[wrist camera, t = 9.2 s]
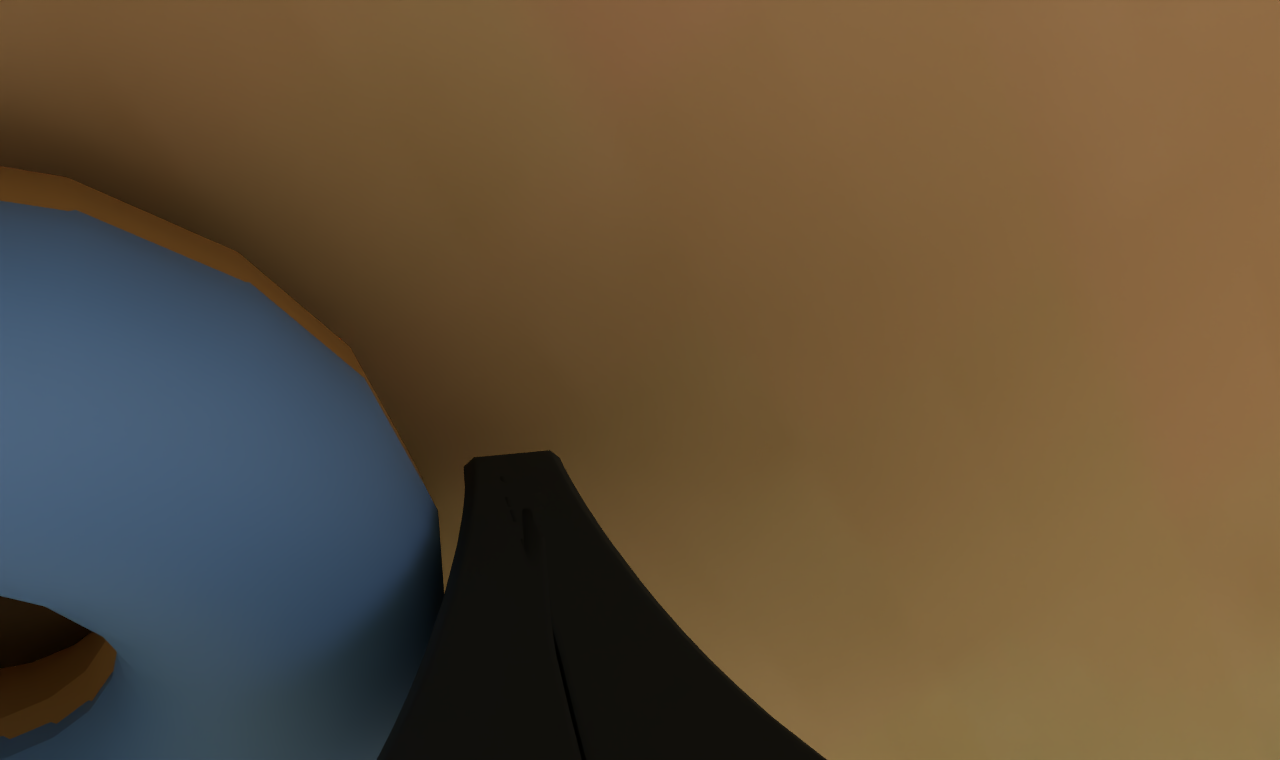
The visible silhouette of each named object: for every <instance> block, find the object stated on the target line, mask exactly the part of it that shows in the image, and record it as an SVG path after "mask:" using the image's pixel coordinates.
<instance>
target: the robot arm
mask: <svg viewBox="0 0 1280 760" xmlns="http://www.w3.org/2000/svg"><path fill="white" fill-rule="evenodd" d="M464 480H465V498H464V508H463V515H462V521H461V527H460V532H459V538H458V543H457V548H456V551H455V555H454V559H453V563H452V567H451V571H450V575H449V579H448V583H447V587H446V590H445V594H444V597H443V601H442V604H441V607H440V610H439V613H438V615H437V618H436V621H435V624H434V627H433V630H432V633H431V636H430V639H429V642H428V644H427V647H426V650H425V653H424V656H423V658H422V661H421V664H420V666H419V669H418V671H417V674H416V676H415V679H414V681H413V683H412V686H411V688H410V691H409V693H408V695H407V697H406V700H405V702H404V704H403V706H402V709H401V711H400V713H399V715H398V717H397V720H396V722H395V724H394V726H393V728H392V730H391V732H390V734H389V736H388V738H387V740H386V742H385V744H384V746H383V748H382V750H381V752H380V754H379V756H378V758H377V760H826V759H825V758H824V757H822V756H821V755H820V754H819V753H817V752H816V751H815V750H814V749H812V748H811V747H810V746H808V745H807V744H806V743H805V742H803V741H802V740H801V739H800V738H798V737H797V736H796V735H794V734H793V733H792V732H791V731H789V730H788V729H787V728H785V727H784V726H783V725H782V724H780V723H779V722H778V721H777V720H775V719H774V718H773V717H772V716H771V715H769V714H768V713H767V712H766V711H765V710H764V709H763V708H762V707H760V706H759V705H758V704H757V703H756V702H755V701H754V700H753V699H751V698H750V697H749V696H748V695H747V694H746V693H745V692H744V691H743V690H741V689H740V688H739V687H738V686H737V685H736V684H735V683H734V682H733V681H732V680H731V679H730V678H729V677H728V676H727V675H726V674H725V673H724V672H722V671H721V670H720V669H719V668H718V667H717V666H716V665H715V664H714V663H713V662H712V661H711V660H710V659H709V658H708V657H707V656H706V655H705V654H704V653H703V652H702V651H701V650H700V649H699V648H698V646H697V645H696V644H695V643H694V642H693V641H692V640H691V639H690V638H689V637H688V636H687V635H686V634H685V633H684V631H683V630H682V629H681V628H680V627H679V626H678V625H677V624H676V622H675V621H674V620H673V619H672V618H671V617H670V616H669V614H668V613H667V612H666V611H665V610H664V609H663V608H662V606H661V605H660V604H659V603H658V602H657V601H656V599H655V598H654V597H653V596H652V594H651V593H650V592H649V591H648V590H647V588H646V587H645V586H644V585H643V583H642V582H641V581H640V580H639V578H638V577H637V576H636V574H635V573H634V572H633V570H632V569H631V568H630V567H629V565H628V564H627V563H626V561H625V560H624V559H623V557H622V556H621V555H620V553H619V552H618V551H617V549H616V548H615V547H614V545H613V544H612V543H611V541H610V540H609V538H608V537H607V536H606V534H605V533H604V531H603V530H602V528H601V527H600V525H599V524H598V522H597V521H596V519H595V518H594V516H593V515H592V513H591V512H590V510H589V509H588V507H587V506H586V504H585V503H584V501H583V499H582V498H581V496H580V494H579V493H578V491H577V489H576V488H575V486H574V484H573V483H572V481H571V479H570V477H569V475H568V474H567V472H566V470H565V468H564V466H563V464H562V462H561V460H560V458H559V457H558V456H556V455H555V454H554V453H553V452H551V451H550V450H549V451H538V452H528V453H517V454H506V455H495V456H485V457H474V458H473V459H472V460H471V461H469V462H468V463H467V464H466V465H465V466H464Z"/></svg>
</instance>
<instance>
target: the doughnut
mask: <svg viewBox="0 0 1280 760" xmlns="http://www.w3.org/2000/svg"><path fill="white" fill-rule="evenodd" d="M0 596H3V597H7V598H11V599H15V600H20V601H24V602H28V603H32V604H37V605H41V606H45V607H47V608H49V609H51V610H52V611H54V612H56V613H58V614H60V615H62V616H64V617H66V618H68V619H70V620H72V621H74V622H76V623H77V624H79V625H81V626H83V627H85V628H87V629H89V630H91V631H92V632H91V633H90V634H88V635H87V636H86V637H84V638H83V639H82V640H80V641H79V642H78V643H76V644H75V645H73V646H71V647H68V648H66V649H64V650H61V651H59V652H56V653H54V654H52V655H49V656H47V657H44V658H42V659H40V660H37V661H35V662H33V663H28V664H23V665H18V666H13V667H8V668H2V669H0V760H377V758H378V756H379V754H380V752H381V750H382V748H383V746H384V744H385V742H386V740H387V738H388V736H389V734H390V732H391V730H392V728H393V726H394V724H395V722H396V720H397V717H398V715H399V713H400V711H401V709H402V706H403V704H404V702H405V700H406V697H407V695H408V693H409V691H410V688H411V686H412V683H413V681H414V679H415V676H416V674H417V671H418V669H419V666H420V664H421V661H422V658H423V656H424V653H425V650H426V647H427V644H428V642H429V639H430V636H431V633H432V630H433V627H434V624H435V621H436V618H437V615H438V613H439V610H440V607H441V604H442V601H443V597H444V585H443V571H442V558H441V544H440V531H439V517H438V510H437V508H436V506H435V504H434V503H433V501H432V499H431V497H430V495H429V493H428V491H427V489H426V487H425V485H424V483H423V481H422V477H421V475H420V473H419V471H418V469H417V467H416V465H415V463H414V462H413V460H412V458H411V456H410V454H409V452H408V450H407V448H406V447H405V445H404V443H403V441H402V439H401V438H400V436H399V434H398V432H397V430H396V429H395V427H394V425H393V423H392V421H391V420H390V418H389V416H388V414H387V413H386V411H385V409H384V407H383V405H382V404H381V402H380V400H379V398H378V396H377V395H376V393H375V391H374V389H373V387H372V386H371V384H370V382H369V380H368V379H367V377H366V375H365V373H364V371H363V370H362V368H361V366H360V364H359V362H358V361H357V359H356V357H355V355H354V354H353V352H352V350H351V348H350V347H349V346H348V345H347V344H346V343H344V342H343V341H342V340H341V339H340V338H339V337H337V336H336V335H335V334H334V333H333V332H331V331H330V330H329V329H328V328H327V327H326V326H324V325H323V324H322V323H321V322H320V321H319V320H317V319H316V318H315V317H314V316H313V315H311V314H310V313H309V312H308V311H307V310H306V309H304V308H303V307H302V306H301V305H300V304H298V303H297V302H296V301H295V300H294V299H293V298H291V297H290V296H289V295H288V294H287V293H286V292H284V291H283V290H282V289H281V288H280V287H278V286H277V285H276V284H275V283H274V282H273V281H271V280H270V279H269V278H268V277H267V276H266V275H264V274H263V273H262V272H261V271H260V270H258V269H257V268H256V267H255V266H254V265H253V264H251V263H250V262H249V261H248V260H247V259H245V258H244V257H243V256H242V255H241V254H240V253H238V252H237V251H234V250H232V249H230V248H227V247H225V246H223V245H221V244H218V243H216V242H214V241H211V240H209V239H207V238H205V237H202V236H200V235H198V234H196V233H193V232H191V231H189V230H186V229H184V228H182V227H180V226H177V225H175V224H173V223H170V222H168V221H166V220H164V219H161V218H159V217H157V216H154V215H152V214H150V213H148V212H145V211H143V210H141V209H139V208H136V207H134V206H132V205H129V204H127V203H125V202H123V201H120V200H118V199H116V198H113V197H111V196H109V195H107V194H104V193H102V192H100V191H97V190H95V189H93V188H91V187H88V186H86V185H84V184H82V183H79V182H77V181H75V180H72V179H70V178H68V177H64V176H58V175H52V174H45V173H39V172H33V171H27V170H21V169H15V168H9V167H3V166H0Z"/></svg>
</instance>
